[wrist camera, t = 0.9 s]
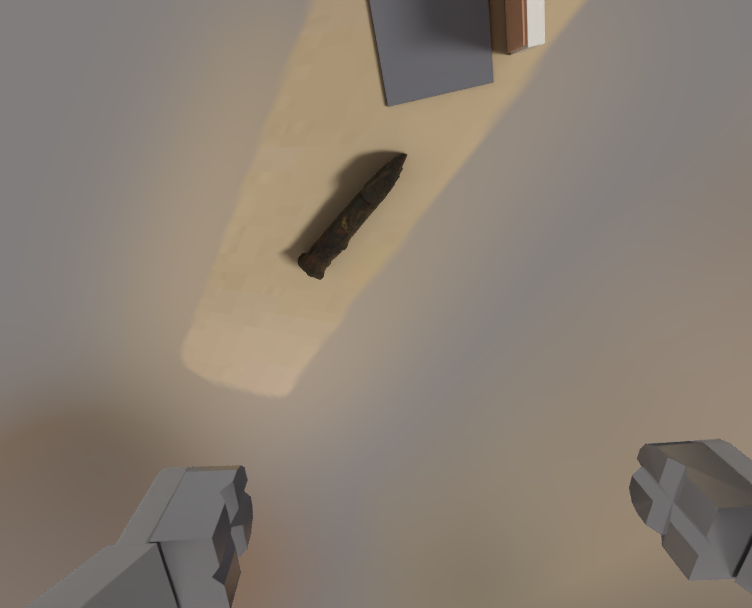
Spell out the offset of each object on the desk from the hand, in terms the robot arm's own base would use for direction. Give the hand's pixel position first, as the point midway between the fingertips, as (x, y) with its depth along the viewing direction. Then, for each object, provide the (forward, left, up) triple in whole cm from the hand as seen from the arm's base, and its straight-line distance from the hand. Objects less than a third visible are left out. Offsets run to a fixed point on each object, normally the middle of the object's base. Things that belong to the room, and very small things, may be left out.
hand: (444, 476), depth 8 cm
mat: (-12, 0, -42) cm, 44 cm away
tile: (-12, +8, -42) cm, 44 cm away
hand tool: (+4, -12, -42) cm, 44 cm away
